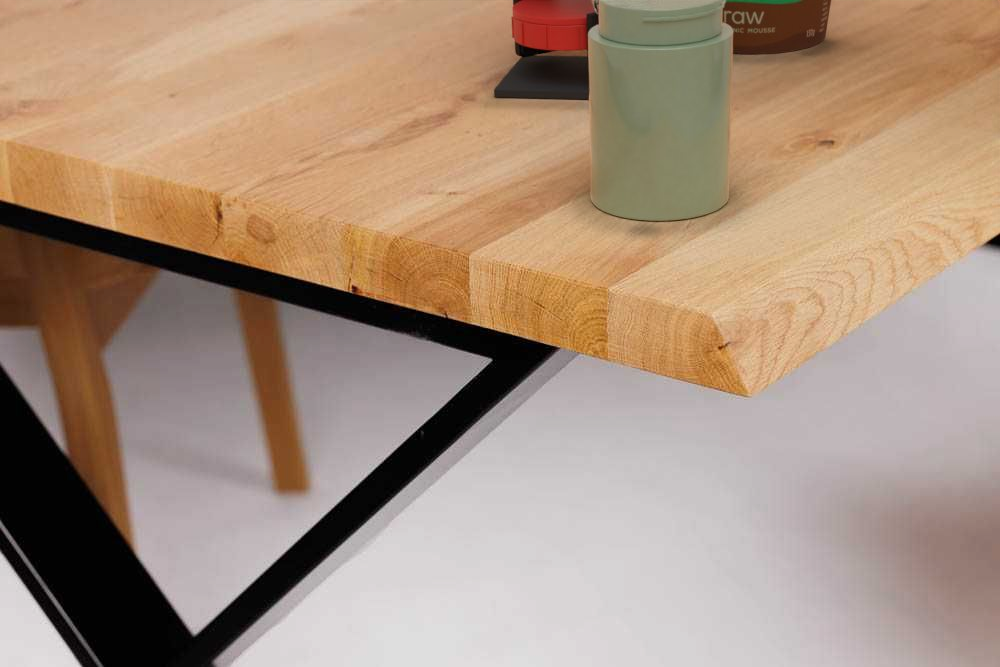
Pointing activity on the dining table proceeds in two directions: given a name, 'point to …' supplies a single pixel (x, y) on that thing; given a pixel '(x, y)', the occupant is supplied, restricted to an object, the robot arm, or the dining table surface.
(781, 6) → the food container
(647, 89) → the jar
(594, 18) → the robot arm
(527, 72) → the mat
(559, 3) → the lid
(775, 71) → the dining table surface
